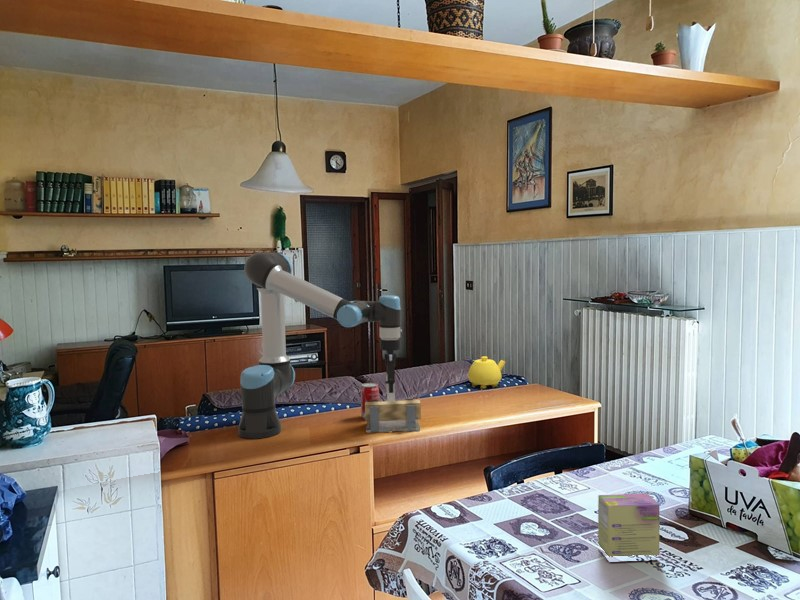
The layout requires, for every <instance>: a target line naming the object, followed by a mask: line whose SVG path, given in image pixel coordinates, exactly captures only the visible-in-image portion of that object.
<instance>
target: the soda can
mask: <svg viewBox="0 0 800 600" xmlns="http://www.w3.org/2000/svg"><path fill="white" fill-rule="evenodd" d="M370 399H378V402H380V388H379V385H378V383H377V382H366V383H362V384H361V387H360V408H361V413H360V414H361V418H363V419H364V420H365V402H370Z"/></svg>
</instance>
